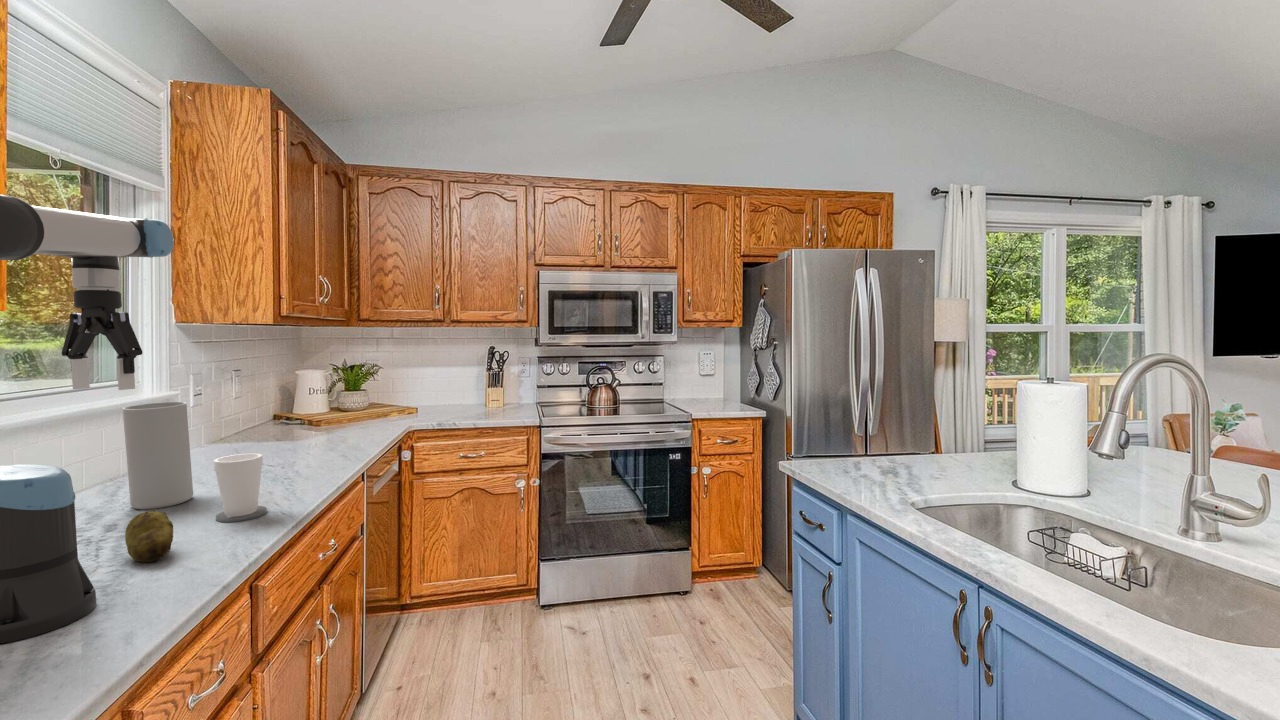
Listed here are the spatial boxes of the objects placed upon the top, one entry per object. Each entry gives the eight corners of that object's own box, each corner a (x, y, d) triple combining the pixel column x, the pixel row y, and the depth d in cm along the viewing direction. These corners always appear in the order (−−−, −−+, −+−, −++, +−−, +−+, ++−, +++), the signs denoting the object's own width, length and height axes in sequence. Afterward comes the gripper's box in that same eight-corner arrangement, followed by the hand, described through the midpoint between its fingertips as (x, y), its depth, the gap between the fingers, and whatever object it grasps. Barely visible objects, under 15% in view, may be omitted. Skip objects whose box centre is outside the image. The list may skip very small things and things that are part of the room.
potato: (112, 572, 108) (109, 529, 108) (132, 549, 119) (130, 510, 119) (169, 562, 112) (167, 521, 111) (184, 541, 123) (181, 503, 123)
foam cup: (269, 511, 140) (266, 457, 139) (222, 521, 133) (219, 464, 133) (258, 503, 147) (255, 451, 146) (212, 512, 140) (209, 458, 139)
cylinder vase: (127, 503, 151) (119, 406, 149) (188, 491, 160) (181, 400, 158) (134, 513, 143) (125, 411, 141) (198, 501, 152) (190, 404, 150)
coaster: (238, 523, 134) (238, 520, 134) (205, 520, 137) (204, 517, 137) (276, 510, 143) (276, 507, 143) (244, 507, 146) (244, 504, 146)
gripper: (159, 289, 127) (165, 387, 128) (76, 292, 133) (83, 386, 134) (120, 286, 119) (127, 391, 121) (35, 290, 126) (42, 390, 127)
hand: (103, 389), depth 128 cm, fingers open, 13 cm apart
